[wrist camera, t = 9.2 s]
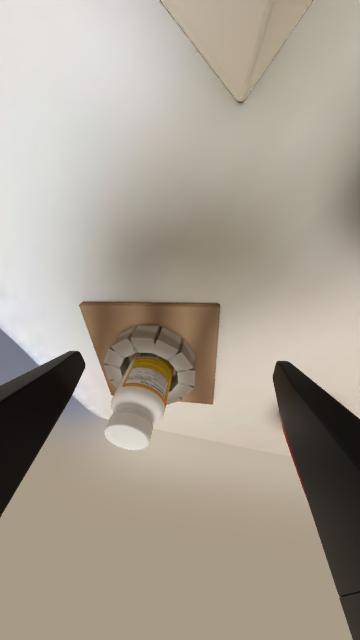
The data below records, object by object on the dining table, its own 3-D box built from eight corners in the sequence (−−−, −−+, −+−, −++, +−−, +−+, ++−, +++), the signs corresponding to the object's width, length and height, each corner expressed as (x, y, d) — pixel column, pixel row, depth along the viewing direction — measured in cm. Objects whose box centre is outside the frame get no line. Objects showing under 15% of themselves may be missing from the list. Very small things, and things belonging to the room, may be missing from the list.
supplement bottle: (155, 380, 26) (130, 459, 17) (126, 357, 24) (84, 432, 16) (183, 364, 23) (170, 446, 15) (153, 337, 22) (120, 412, 14)
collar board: (219, 304, 19) (221, 319, 17) (212, 399, 28) (213, 420, 25) (83, 302, 22) (64, 315, 19) (113, 391, 30) (103, 409, 27)
